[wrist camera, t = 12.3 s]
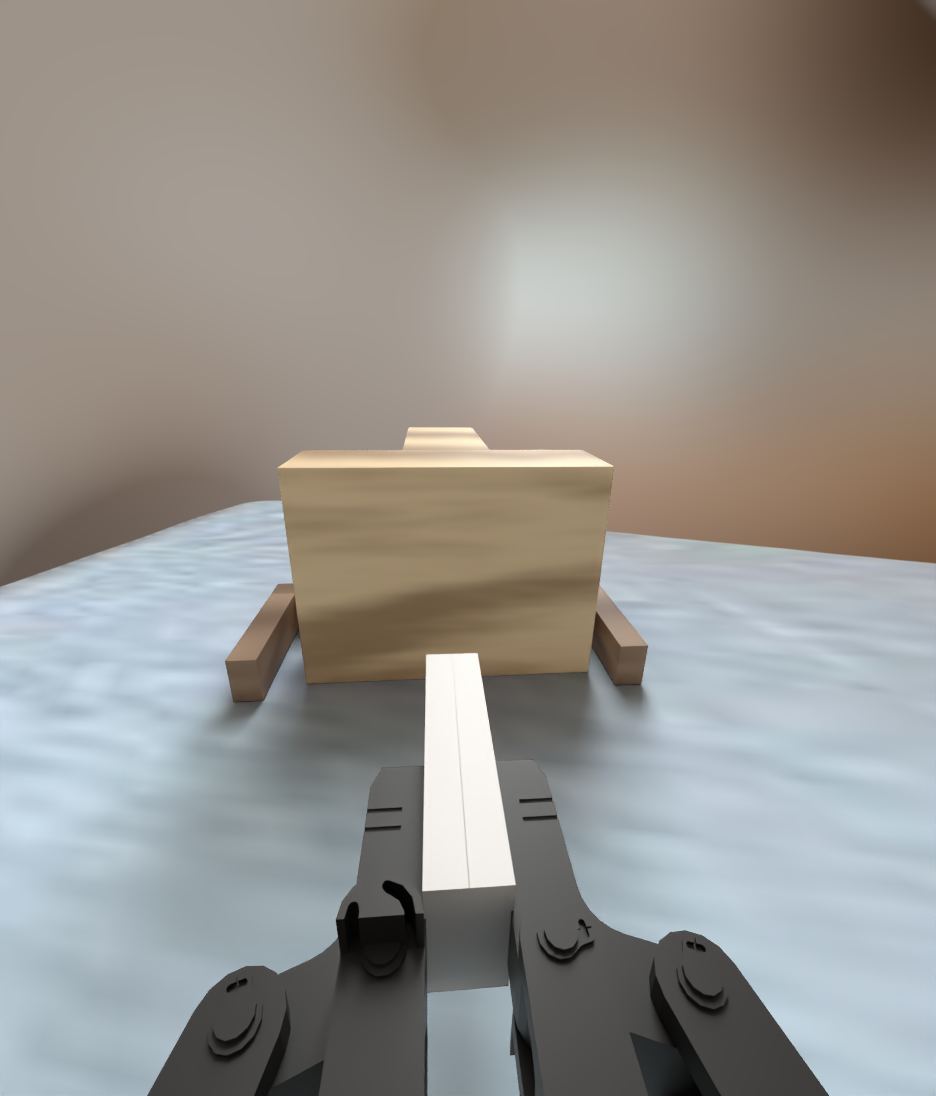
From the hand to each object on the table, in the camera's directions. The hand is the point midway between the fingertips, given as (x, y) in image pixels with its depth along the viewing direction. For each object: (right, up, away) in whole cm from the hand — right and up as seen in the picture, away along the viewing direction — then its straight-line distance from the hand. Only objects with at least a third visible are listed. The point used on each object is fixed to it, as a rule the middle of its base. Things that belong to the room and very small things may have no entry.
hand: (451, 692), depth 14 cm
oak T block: (-1, 0, +20) cm, 20 cm away
